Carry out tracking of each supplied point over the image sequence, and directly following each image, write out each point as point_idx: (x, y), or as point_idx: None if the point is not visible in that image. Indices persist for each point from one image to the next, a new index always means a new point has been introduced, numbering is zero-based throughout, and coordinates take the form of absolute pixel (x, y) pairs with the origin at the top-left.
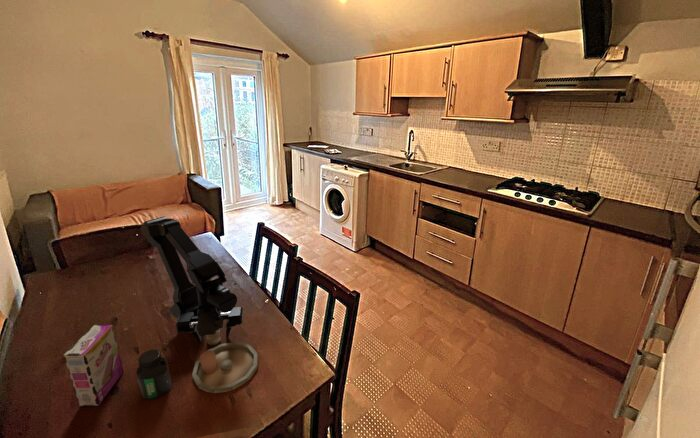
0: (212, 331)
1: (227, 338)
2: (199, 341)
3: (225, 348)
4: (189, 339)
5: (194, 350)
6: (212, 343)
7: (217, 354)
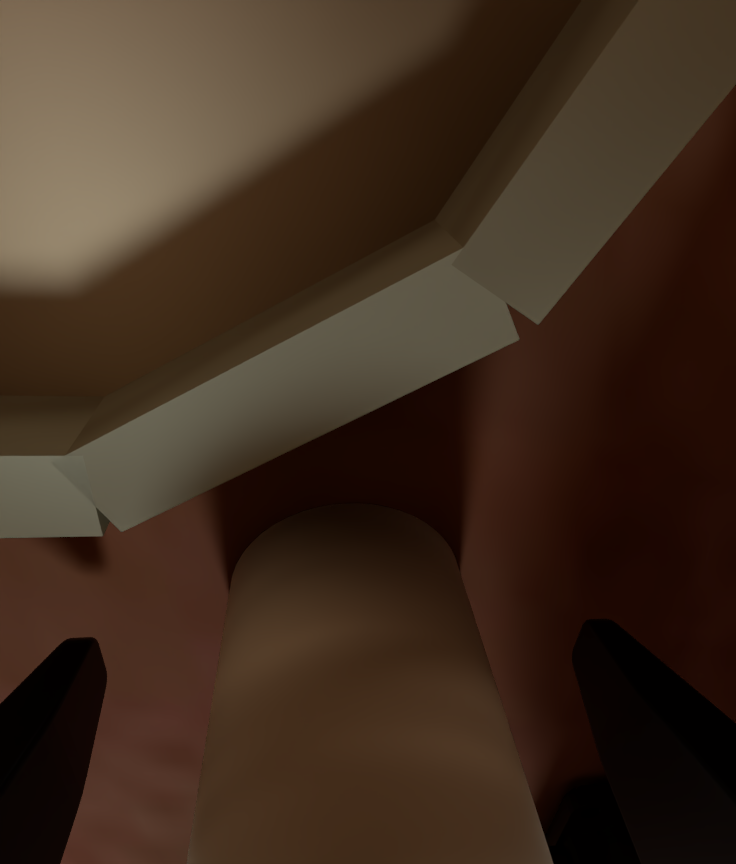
0: None
1: (48, 664)
2: (631, 653)
3: (17, 398)
4: (699, 685)
5: (681, 491)
6: (370, 580)
7: (187, 202)
